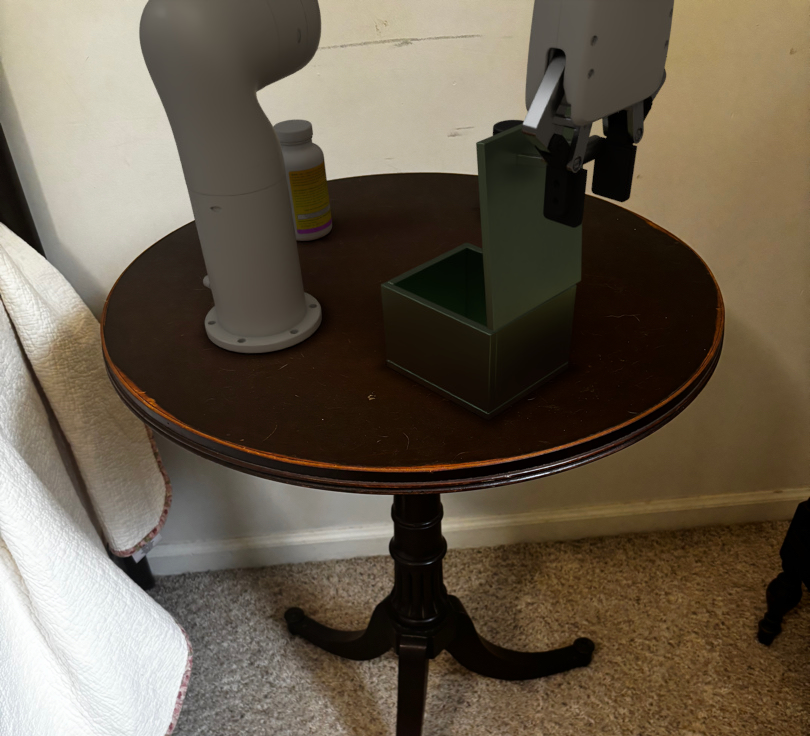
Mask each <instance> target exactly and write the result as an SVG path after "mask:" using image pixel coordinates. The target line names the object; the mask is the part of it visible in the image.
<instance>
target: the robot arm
mask: <svg viewBox="0 0 810 736" xmlns="http://www.w3.org/2000/svg"><path fill="white" fill-rule="evenodd" d="M533 1H534V2H533V9H532V16H531V23H530V24H531V25H530V32H529V33H530V34H529V42H528V53H527V62H526V77H525V94H524V95H525V96H524V101H525V102H524V103H525V109H526V111H527V112H526V115H525V117H524V120H523V121H524V122H523V124H522V129H521V130H522V133H523V135H524V136H525V137H526V138H527V139H528V140H529V141H530V142H531V143H532V144H534V145H535V148H536V149H537V151H538V152H539V153H540V155H541V162H542V163H543V164H545V165H546V178H545V192H544V207H543V215H544V217H545V218H546V219H549V220H552V221H555V222H558V223H561V224H563V225H566V226H569V227H572V228H576V227H578V226H579V225H581V224H582V225H583V219H584V210H585V201H586V191H587V182H588V181H587V180H588V171H589V170H588V169H586V168H584V167H583V168H581V167H582V164H583V160H584V156H585V152H586V148H587V144H588V140H589V137H590V136H591V132H592V127H593V123H595V122H598V121H600V120H601V123H602V124H601V125H602V135H603V136H600V137H601V138H602V139H603V141H604V144H605V150H604V153H603V154H602V156H600V157H599V158H597V159H594V160H593V169H592V170H593V171H592V179H591V187H590V189H591V193H592V194H593V195H596V196H599V197H602V198H606V199H609V200H613V201H615V202H619V203H625V202H626V201H628V200H630V199H631V193H632V185H633V178H634V171H635V166H636V165H635V164H636V158H637V151H638V144H640V142H641V141H642V139H643V138H644V132H645V123H644V122H645V121H646V119H647V117H648V115H649V113H650V111H651V110H652V108H653V104H654V101H655V99H656V98H657V95H658V94H659V92H660V91H661V89H662V87H663V86H664V84H665V82H666V79H667V71H666V68H665V67H666V62H667V58H668V52H669V46H670V38H671V33H672V25H673V16H674V15H673V14H674V8H675V0H533ZM143 7H144V8H143V10H142V13H141V16H140V20H139V27H138V28H139V29H138V37H139V45H140V50H141V54H142V57H143V61H144V64H145V66H146V69H147V71H148V74H149V76H150V79H151V81H152V83H153V85H154V88H155V90H156V92H157V95H158V97H159V99H160V103H161V104H162V107H163V109H164V112H165V114H166V117H167V121H168V123H169V125H170V129H171V133H172V136H173V139H174V143H175V145H176V146H175V147H176V149H177V154H178V157H179V161H180V162H179V163H180V165H181V170H182V173H183V179H184V182H185V185H186V189H187V193H188V197H189V202H190V205H191V211H192V214H193V219H194V222H195V223H194V224H195V227H196V231H197V235H198V239H199V243H200V248H201V253H202V256H203V257H202V258H203V260H204V264H205V269H206V273H207V275H205V276H204V277H203V279H202V284H203V285H204V287H207V288H208V289H209V290H211V294H212V295H211V296H212V298H213V303H214V305H213V306H212V308H211V309H210V310H209V311H208V312H207V314H206V316H205V319H204V328H205V332H206V335H207V338H208V339H209V340H210V341H211V342H212V343H213V344H214V345H216V346H218V347H219V348H222V349H225V350H227V351H230V352H235V353H242V354H264V353H271V352H275V351H280V350H284V349H287V348H290V347H293V346H296V345H298V344H300V343H301V342H303V341H305V340H307V339H308V338H309V337H311V336H312V335H313V334H314V333H315V332H316V331H317V330H318V329H319V327H320V326H321V324H322V320H323V312H322V307H321V304H320V302H319V301H318V300H317V299H316V297H314V296H313V295H312V294H310V293H307V292H306V291H305V290H304V289H305V288H304V282H303V276H302V275H303V274H302V270H301V269H302V268H301V263H300V255H299V249H298V243H297V242H298V241H297V240H296V235H295V228H294V222H293V215H292V208H291V202H290V195H289V188H288V182H287V175H286V170H285V164H284V157H283V152H282V148H281V144H280V141H279V138H278V135H277V133H276V131H275V129H274V127H273V126H274V125H273V124H272V122H271V121H270V119H269V117H268V115H267V114H266V113H265V111H264V110H263V108H262V106H261V104H260V102H259V100H258V94H257V92H260V91H262V90H263V89H264V88H266V87H268V86H270V85H272V84H276V82H279V81H281V80H283V79H285V78H287V77H290V76H292V75H294V74H296V73H297V72H299V71H301V70H302V69H303V68H305V67H306V66H308V64H309V63H310V62H311V61H312V60H313V59H314V57H315V55H316V53H317V51H318V49H319V46H320V42H321V38H322V15H321V8H320V4H319V0H148V1H147V2H146V3H145V6H143ZM567 107H571V115H570V116H566V115H565V113H566V109H567ZM564 127H567V128H571V129H574V133H573V137H572V142H571V146H570V145H569V144H568V142H567V141H566V139H565V138H564V136H563V135H562V134H563V130H564Z"/></svg>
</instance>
